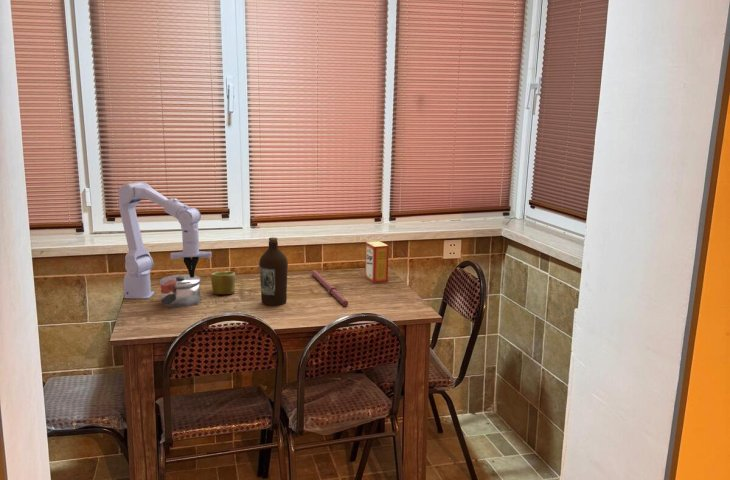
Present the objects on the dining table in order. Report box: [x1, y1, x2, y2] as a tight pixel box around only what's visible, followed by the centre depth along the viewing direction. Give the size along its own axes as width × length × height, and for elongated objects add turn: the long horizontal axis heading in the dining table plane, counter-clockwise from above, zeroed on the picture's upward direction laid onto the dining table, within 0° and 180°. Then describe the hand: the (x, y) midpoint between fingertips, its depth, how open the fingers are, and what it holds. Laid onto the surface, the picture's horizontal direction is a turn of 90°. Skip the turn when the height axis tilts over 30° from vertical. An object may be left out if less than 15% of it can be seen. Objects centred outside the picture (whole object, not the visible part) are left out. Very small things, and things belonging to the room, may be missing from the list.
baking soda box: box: [364, 240, 389, 284], centre depth 276 cm, size 10×6×16 cm
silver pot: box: [161, 282, 201, 308], centre depth 240 cm, size 20×14×7 cm
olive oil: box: [258, 236, 289, 307], centre depth 242 cm, size 11×11×25 cm
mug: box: [210, 270, 236, 296], centre depth 256 cm, size 12×10×10 cm
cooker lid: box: [159, 273, 201, 294], centre depth 239 cm, size 21×15×3 cm
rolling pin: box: [310, 269, 349, 307], centre depth 261 cm, size 45×3×3 cm, turn 20°
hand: (192, 276), depth 239 cm, fingers closed
